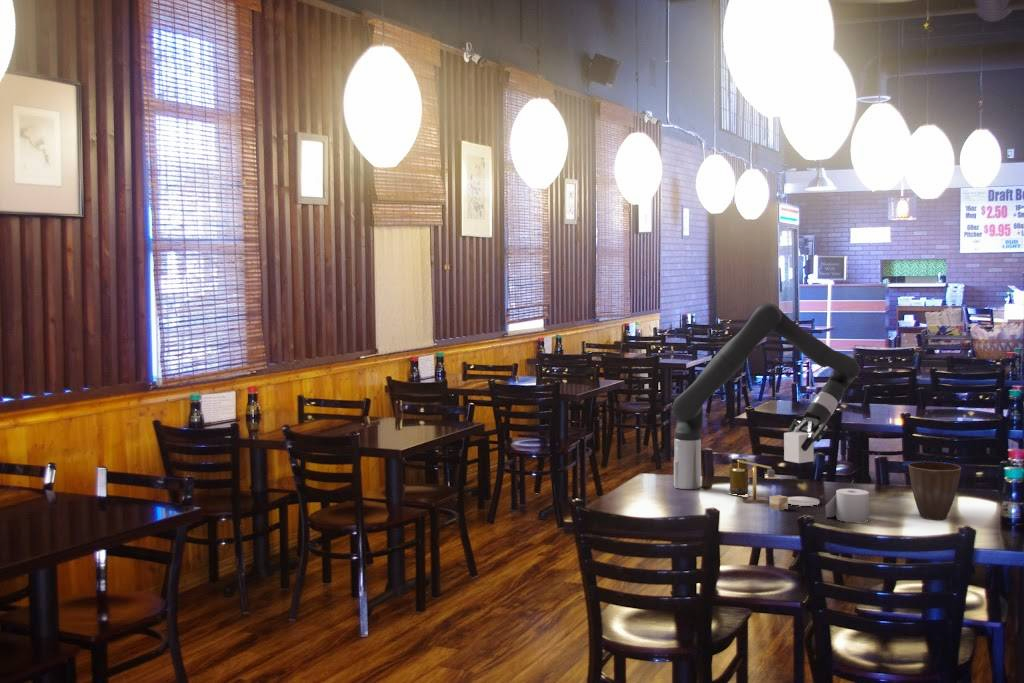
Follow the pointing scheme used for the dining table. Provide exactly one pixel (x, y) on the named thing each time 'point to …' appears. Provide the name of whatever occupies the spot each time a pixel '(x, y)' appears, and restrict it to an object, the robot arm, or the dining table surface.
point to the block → (778, 502)
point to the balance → (769, 475)
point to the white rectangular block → (797, 448)
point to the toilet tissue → (849, 505)
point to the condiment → (738, 478)
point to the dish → (803, 501)
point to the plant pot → (934, 487)
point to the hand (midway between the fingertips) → (795, 447)
